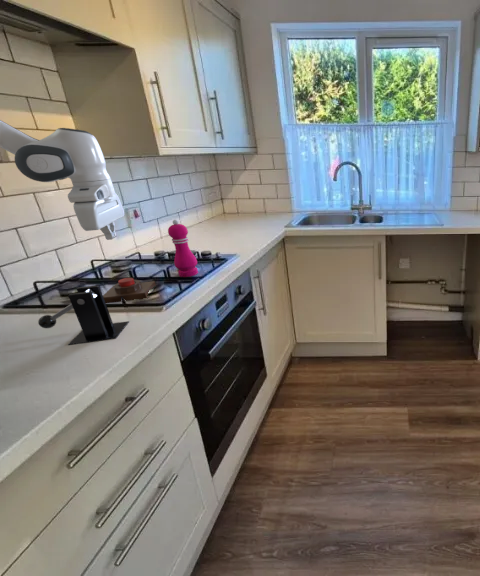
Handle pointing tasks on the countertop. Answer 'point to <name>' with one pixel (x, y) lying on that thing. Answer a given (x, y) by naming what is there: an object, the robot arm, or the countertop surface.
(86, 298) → the bracket
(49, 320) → the lever
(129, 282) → the button
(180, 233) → the pepper mill
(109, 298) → the button block
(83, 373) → the countertop surface
